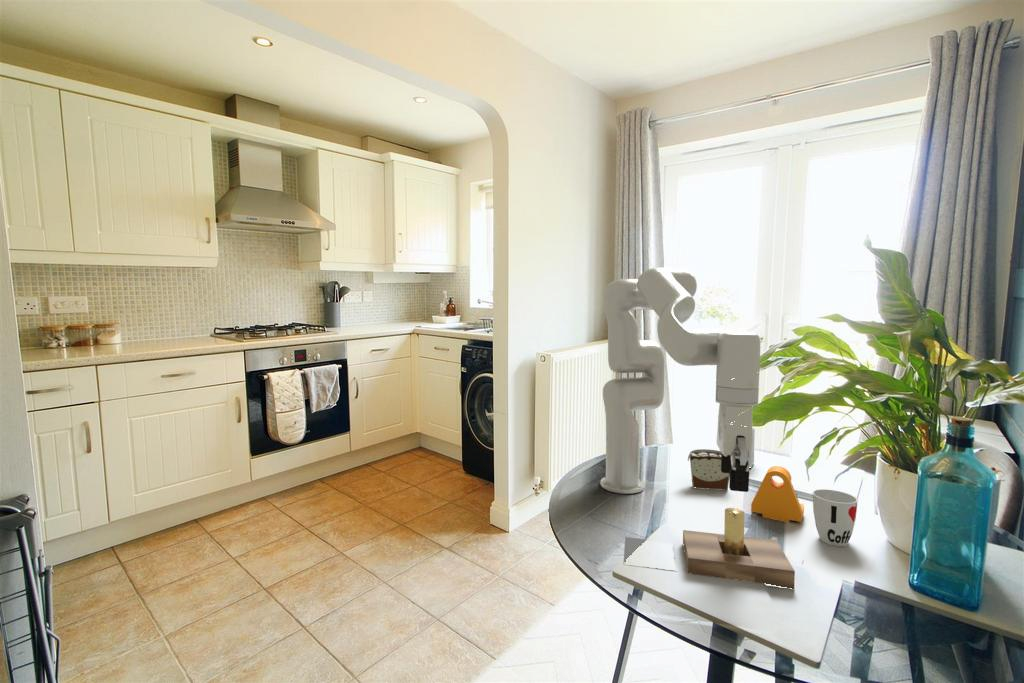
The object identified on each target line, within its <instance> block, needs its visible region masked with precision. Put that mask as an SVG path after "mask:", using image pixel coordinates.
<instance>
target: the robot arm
mask: <svg viewBox="0 0 1024 683" xmlns="http://www.w3.org/2000/svg"><path fill="white" fill-rule="evenodd" d="M697 287H698V284H697V280H696V277H695V275H694V274H693V273H692V272H691V271H689V270H688V269H685V268H680V267H679V268H677V267H675V268H674V267H654V268H649V269H646V270H644V271H643V272H642V273H640V275H639V276H638V278H620V279H615V280H612V281H611V282H610V283H608V285H607V286H606V287H605V290H604V292H603V299H602V300H603V302H602V304H603V309H604V313H605V317H606V321H607V360H608V361H607V362H608V367H609V369H610V370H611V371H612V372H614V373H615V374H616V373H617V374H639V373H640V374H641V377H639V376H638V377H619V378H612V379H610V380H608V381H607V382H605V384H604V386H603V388H602V400H603V405H604V411H605V412H604V413H605V414H604V415H605V476H604V477H602V478H601V479H600V486H601V488H602V489H604V490H606V491H609V492H613V493H617V494H627V495H629V494H631V495H632V494H637V493H641V492H643V491H644V490H645V489H646V484H645V482H644V481H643V480H642V479H640V460H641V457H640V453H641V452H640V447H641V444H640V442H641V440H640V438H641V431H640V430H641V428H640V424H639V422H638V420H637V419H636V417H635V416H634V414H633V412H636V411H648V410H655V409H658V408H659V407H661V405H662V404H663V401H664V397H665V396H664V395H665V356H664V352H663V349H664V350H665V351H666V352H667V354H668V356H670V358H671V359H672V360H673V361H675V362H676V363H677V364H679V365H682V366H686V367H692V366H693V367H694V366H696V367H697V366H716V373H715V375H716V376H715V379H716V380H715V402H716V403H717V404H719V406H718V414H717V419H718V420H717V428H716V429H717V431H716V432H717V433H716V446H717V447H718V449H719V451H721V472H722V473H730V477H729V484H728V489H729V490H730V491H733V492H744V493H748V492H749V489H750V487H749V486H750V469H749V463H748V462H749V461H748V458H749V457H750V456H751V453H752V435H753V427H754V426H753V425H754V424H753V419H754V418H753V414H754V413H753V407H756V406H755V405H757V404H758V405H759V396H760V395H759V390H760V366H761V337H760V336H759V335H758V334H757V333H755V332H751V331H750V332H749V331H734V330H730V329H726V328H725V329H724V328H702V329H701V328H699V329H698V328H693V329H692V328H691V329H687V328H686V327H684V326H683V325H682V324H683V323H685V322H687V321H688V320H689V319H690V318H692V315H693V313H694V312H695V309H696V301H695V299H694V296H695V294H696V292H697ZM631 310H633V311H635V310H636V311H654V313H655V314H656V315H657V316H658V321H657V324H656V326H657V327H656V328H657V338H658V340H659V343H660V344H659V343H658V342H657V341H655V340H653V339H652V340H651V339H639V323H638V321H637V319H636V317H635V316H634V314H633V313H632V311H631ZM661 346H662V347H661ZM662 348H663V349H662ZM757 372H758V373H757ZM753 374H754V375H753ZM732 378H735V379H733V380H731V379H732ZM758 405H757V406H758ZM750 408H752V409H751V410H748V409H750ZM746 410H748V411H746ZM744 411H745V412H744ZM742 412H744V413H742ZM741 413H742V414H741ZM739 414H741V415H739ZM738 415H739V416H738ZM734 421H735V422H734ZM731 422H733V423H732V424H733V425H730V423H731ZM741 425H742V426H741ZM744 426H747V427H744Z"/></svg>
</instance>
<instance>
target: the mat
mask: <svg viewBox="0 0 1024 683" xmlns="http://www.w3.org/2000/svg"><path fill="white" fill-rule="evenodd" d="M624 539H625V542H624V555H623V556H624V557H623V563H624V562H626V559H627V558H628V557H629V556H630V555H632V553H633V552H634V551H635V550H636V549H637V548H638V547H639V546H641V545H642V543H644V542H645V541H646V540H648V538H647V539H645V538H638V537H629V536H625V538H624Z"/></svg>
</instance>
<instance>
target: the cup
mask: <svg viewBox="0 0 1024 683" xmlns="http://www.w3.org/2000/svg"><path fill="white" fill-rule="evenodd" d="M812 508H813V516H814V522H815V528H816V531H817V533H818V537H819V540H821V541H822V542H823V543H825V544H828V545H830V546H835V547H845V546H844V545H846V546H847V545H848V543H849V542H850V540H851V537H852V535H853V532H854V527H855V523H856V520H857V511H858V510H857V509H858V498H857V497H855V496H854V495H852V494H850V493H846V492H843V491H840V490H839V491H838V490H834V489H826V488H822V489H821V488H820V489H815V490H813V491H812Z"/></svg>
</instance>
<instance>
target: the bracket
mask: <svg viewBox="0 0 1024 683" xmlns="http://www.w3.org/2000/svg"><path fill="white" fill-rule="evenodd" d="M773 477H779V478H780V479H781V480H782V481H783V482H777V481H775V480H774V478H773ZM750 512H754V513H757V514H761V515H762V518H766V519H770V520H771V519H772V520H775V521H779V522H785V523H790V521H796V522H799V523H802V522H803V517H804V513H805V505H804V504H802V503H800V501H799V498H798V496H797V493H796V491H795V488H794V486H793V484H792V475H791V473H790V471H788V469H786V468H785V467H783V466H779V465H774V466H771V467H769V468H768V470H767V471H766V474H765V475H764V477H763V479H762V481H761V484H760V485H759V487H758V489H757V491H756V493H755V496H754V497H753V499H752V502H751V503H750Z"/></svg>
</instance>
